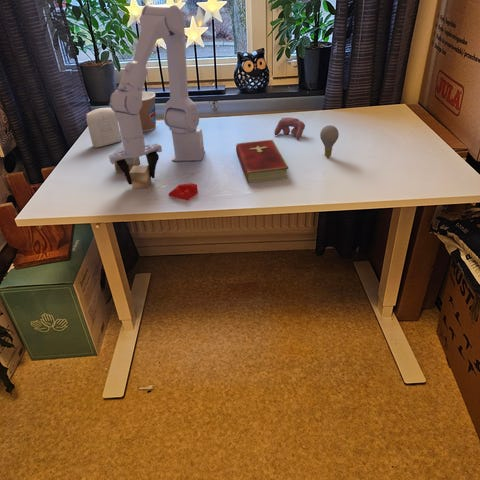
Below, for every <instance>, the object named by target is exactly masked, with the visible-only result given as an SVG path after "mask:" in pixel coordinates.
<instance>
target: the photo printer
mask: <svg viewBox="0 0 480 480" xmlns="http://www.w3.org/2000/svg"><path fill="white" fill-rule="evenodd" d="M85 118H86V123H87V127H88V131H89V136H90V140H91V144H92V147H93V148H95V149H97V148H100V147H105V146H109V145H112V144H116V143H120V142H122V136H121V132H120V127H119V122H118V118H117V117H116V116H115V112H114V111H113V110H112V109H111V107H100V108H99V107H98V108H96V109H93V110H91V111H90V112H87V113H86V114H85Z"/></svg>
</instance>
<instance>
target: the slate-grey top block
mask: <svg viewBox="0 0 480 480" xmlns="http://www.w3.org/2000/svg"><path fill="white" fill-rule="evenodd" d="M122 150H124V146H118V147H117V148H116V149H115V151H114V152H113V153H112V154H115V153H118V152H120V151H122ZM137 158H138V157H135V158H131V159H127V160H125V161H126V162H127V164H134V162H135V161H136V159H137ZM115 164H117V163H115ZM115 164H114V165H115Z"/></svg>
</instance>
